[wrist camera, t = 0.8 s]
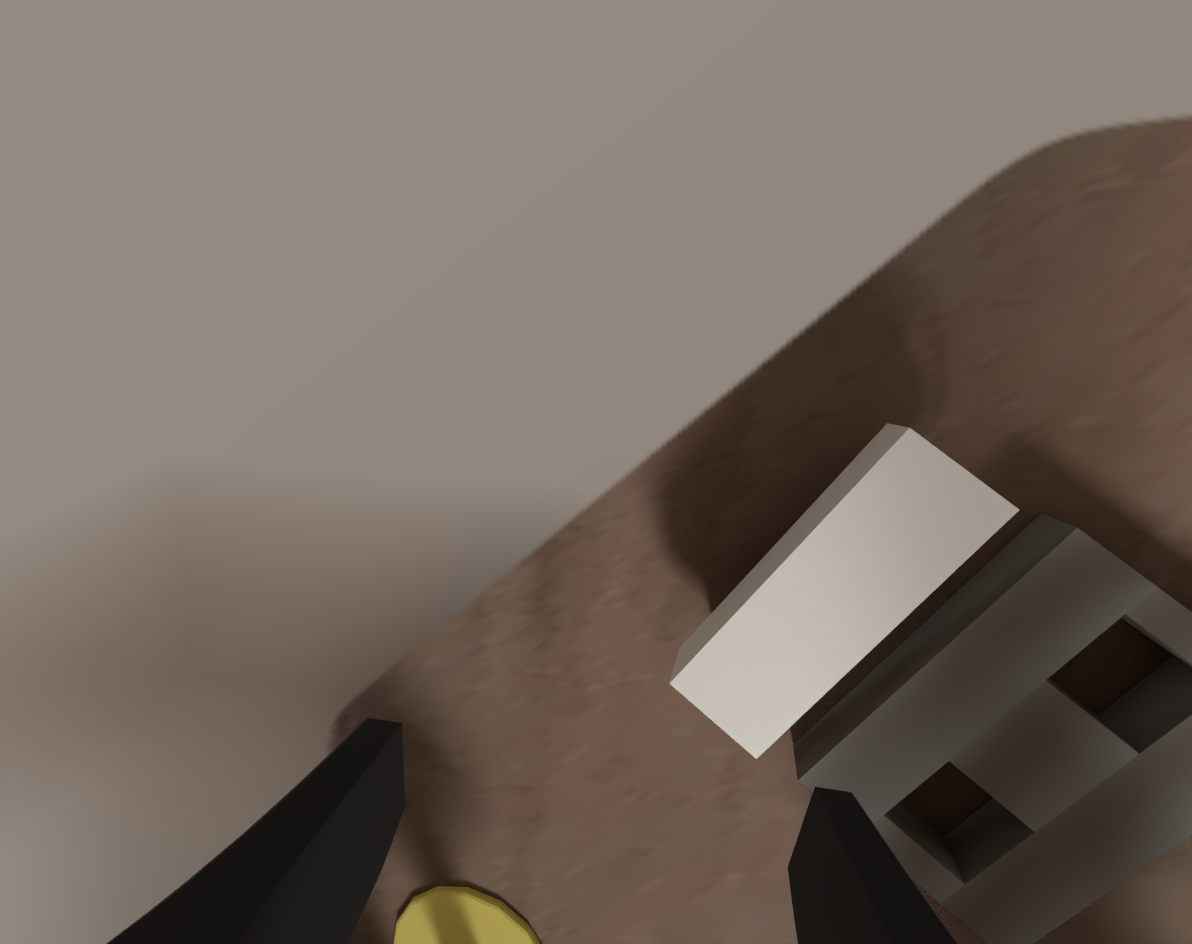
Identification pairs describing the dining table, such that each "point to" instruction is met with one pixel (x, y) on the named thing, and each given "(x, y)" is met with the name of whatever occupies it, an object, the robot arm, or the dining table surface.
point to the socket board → (1022, 738)
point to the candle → (460, 919)
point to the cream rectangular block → (836, 585)
